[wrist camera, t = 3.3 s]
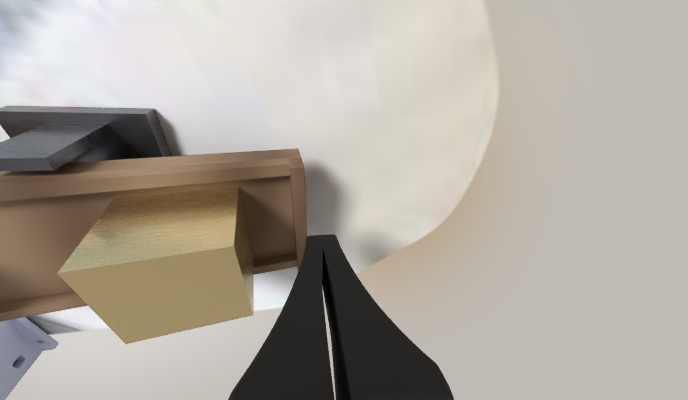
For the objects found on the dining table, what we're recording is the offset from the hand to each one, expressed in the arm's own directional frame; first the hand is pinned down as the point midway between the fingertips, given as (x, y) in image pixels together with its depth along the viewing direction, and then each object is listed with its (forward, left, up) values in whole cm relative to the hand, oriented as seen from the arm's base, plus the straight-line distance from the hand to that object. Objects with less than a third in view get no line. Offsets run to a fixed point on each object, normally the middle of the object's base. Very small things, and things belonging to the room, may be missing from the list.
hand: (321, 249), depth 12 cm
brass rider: (0, +6, -2) cm, 7 cm away
